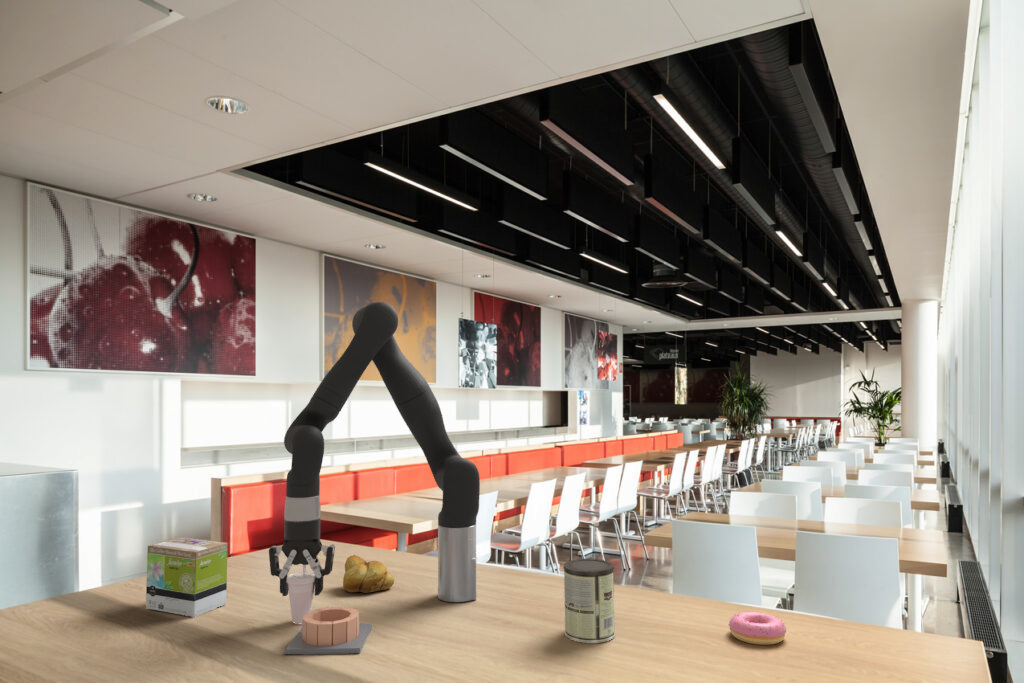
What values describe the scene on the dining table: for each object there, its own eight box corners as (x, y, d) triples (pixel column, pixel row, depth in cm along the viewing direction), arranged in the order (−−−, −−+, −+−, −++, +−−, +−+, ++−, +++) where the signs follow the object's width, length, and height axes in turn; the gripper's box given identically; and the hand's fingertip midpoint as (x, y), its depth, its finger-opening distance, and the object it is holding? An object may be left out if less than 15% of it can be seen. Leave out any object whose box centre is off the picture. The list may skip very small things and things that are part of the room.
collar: (371, 628, 147) (372, 603, 148) (359, 653, 133) (360, 626, 134) (304, 629, 147) (304, 604, 147) (285, 654, 133) (285, 627, 133)
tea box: (143, 610, 160) (145, 544, 161) (179, 598, 169) (181, 535, 170) (193, 618, 154) (195, 550, 155) (228, 605, 163) (229, 540, 164)
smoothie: (307, 627, 148) (308, 559, 149) (279, 625, 149) (280, 558, 150) (321, 617, 154) (322, 552, 155) (294, 615, 155) (295, 551, 156)
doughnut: (717, 633, 144) (716, 612, 144) (759, 625, 149) (758, 605, 149) (755, 651, 134) (754, 629, 134) (798, 642, 139) (798, 621, 139)
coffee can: (571, 624, 150) (570, 556, 150) (619, 629, 146) (618, 560, 147) (558, 640, 140) (557, 568, 141) (609, 646, 136) (608, 572, 137)
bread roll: (397, 585, 180) (397, 553, 180) (388, 596, 170) (388, 562, 170) (348, 584, 180) (348, 552, 181) (336, 595, 171) (336, 562, 171)
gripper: (339, 513, 157) (338, 589, 156) (274, 513, 157) (273, 590, 156) (332, 519, 150) (331, 599, 149) (263, 520, 149) (262, 600, 148)
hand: (301, 594), depth 152 cm, fingers closed on smoothie, 6 cm apart
